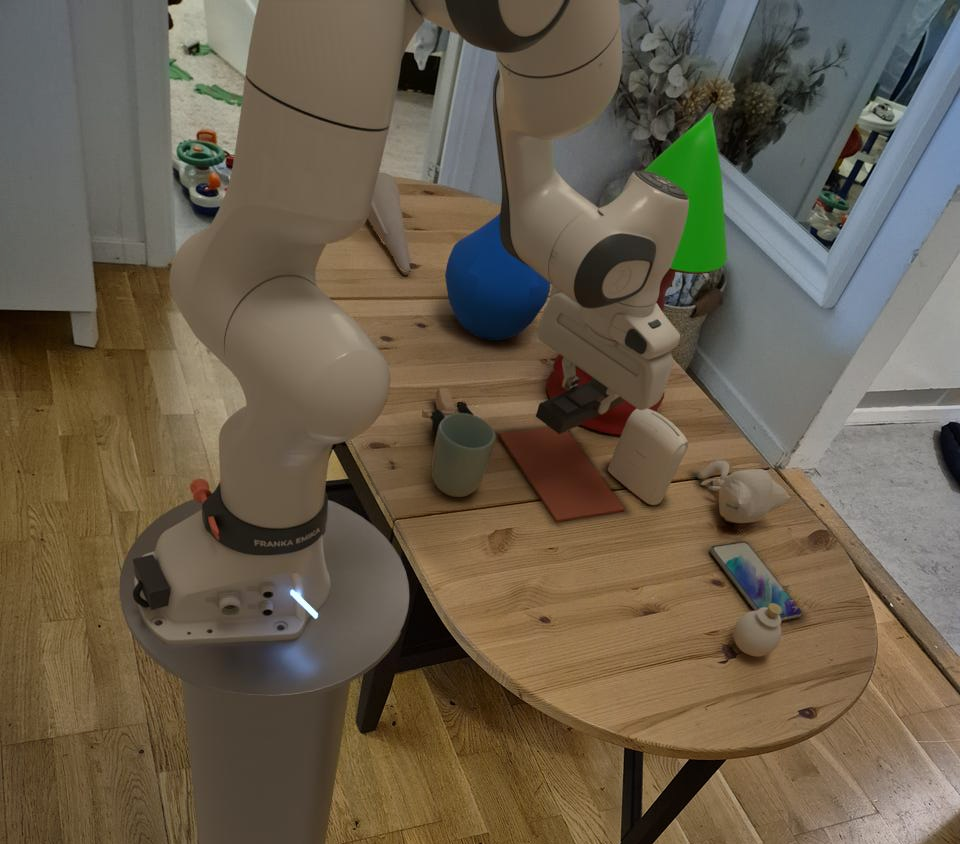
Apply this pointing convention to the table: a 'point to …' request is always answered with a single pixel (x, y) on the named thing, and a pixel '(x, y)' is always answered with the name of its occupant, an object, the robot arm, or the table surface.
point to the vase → (492, 286)
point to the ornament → (759, 630)
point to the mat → (560, 474)
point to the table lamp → (699, 247)
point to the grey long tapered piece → (390, 219)
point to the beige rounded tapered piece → (744, 492)
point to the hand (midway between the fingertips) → (584, 399)
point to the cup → (461, 453)
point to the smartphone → (754, 578)
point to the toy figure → (444, 408)
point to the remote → (573, 406)
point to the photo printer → (648, 455)
